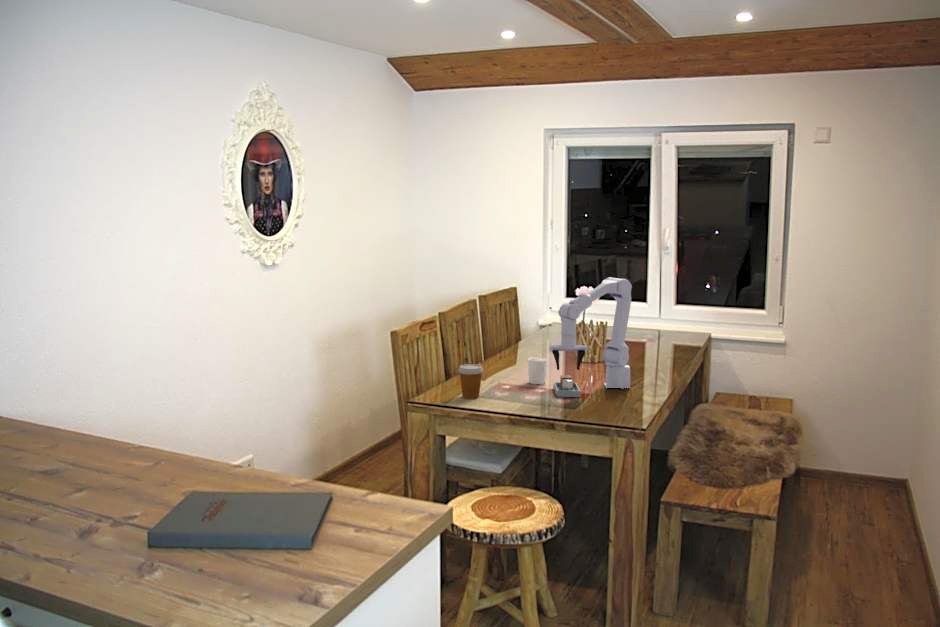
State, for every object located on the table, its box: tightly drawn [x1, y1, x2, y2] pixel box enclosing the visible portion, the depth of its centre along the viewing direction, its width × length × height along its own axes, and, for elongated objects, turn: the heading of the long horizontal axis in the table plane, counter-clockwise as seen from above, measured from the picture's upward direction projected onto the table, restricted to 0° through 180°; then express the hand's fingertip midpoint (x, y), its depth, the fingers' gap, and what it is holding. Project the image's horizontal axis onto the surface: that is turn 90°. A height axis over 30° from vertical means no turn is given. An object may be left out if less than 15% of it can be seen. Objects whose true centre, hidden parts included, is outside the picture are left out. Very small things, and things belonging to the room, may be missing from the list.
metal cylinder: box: [562, 379, 574, 391], centre depth 308 cm, size 4×4×5 cm
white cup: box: [527, 356, 548, 385], centre depth 327 cm, size 8×8×10 cm
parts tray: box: [553, 381, 581, 398], centre depth 311 cm, size 9×14×2 cm, turn 179°
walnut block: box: [559, 374, 573, 390], centre depth 314 cm, size 4×4×5 cm
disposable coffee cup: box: [458, 363, 484, 400], centre depth 303 cm, size 10×10×12 cm
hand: (568, 369), depth 307 cm, fingers open, 7 cm apart
